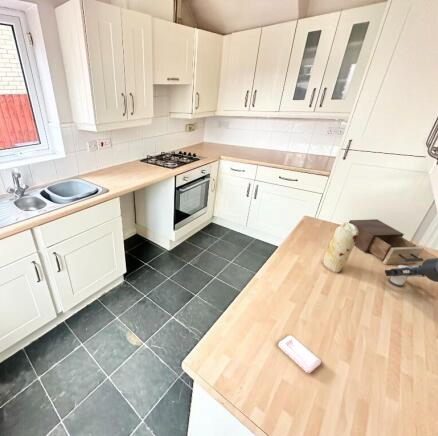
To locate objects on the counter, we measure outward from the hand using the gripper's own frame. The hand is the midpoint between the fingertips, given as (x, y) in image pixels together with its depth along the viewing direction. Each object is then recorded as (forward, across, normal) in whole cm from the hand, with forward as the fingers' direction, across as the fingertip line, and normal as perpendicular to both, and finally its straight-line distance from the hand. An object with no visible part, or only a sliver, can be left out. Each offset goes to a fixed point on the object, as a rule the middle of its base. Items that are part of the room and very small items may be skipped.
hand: (397, 272), depth 90 cm
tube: (+2, 0, +4) cm, 5 cm away
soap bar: (-15, +52, +22) cm, 59 cm away
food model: (+10, +16, -3) cm, 20 cm away
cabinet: (+21, -12, -14) cm, 28 cm away
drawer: (+12, -12, -7) cm, 18 cm away
